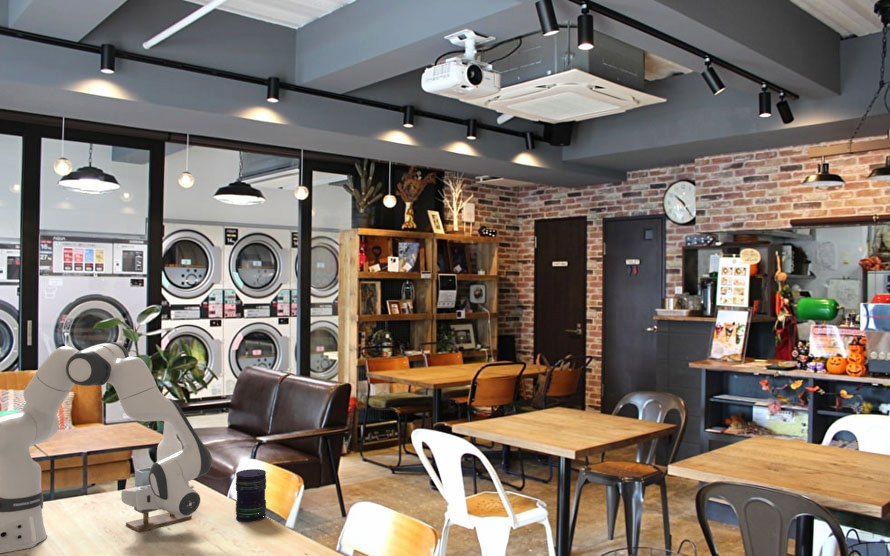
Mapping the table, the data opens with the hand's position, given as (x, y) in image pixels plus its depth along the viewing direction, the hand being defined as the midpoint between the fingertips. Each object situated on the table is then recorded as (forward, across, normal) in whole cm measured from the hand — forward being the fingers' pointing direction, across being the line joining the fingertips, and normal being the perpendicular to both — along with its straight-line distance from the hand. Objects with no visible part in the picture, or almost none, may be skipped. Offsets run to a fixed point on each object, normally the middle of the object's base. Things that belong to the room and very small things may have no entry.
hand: (145, 486), depth 239 cm
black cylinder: (-19, -27, +13) cm, 36 cm away
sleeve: (-1, 0, +8) cm, 8 cm away
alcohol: (+26, -21, +12) cm, 36 cm away
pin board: (-1, -4, +12) cm, 13 cm away
